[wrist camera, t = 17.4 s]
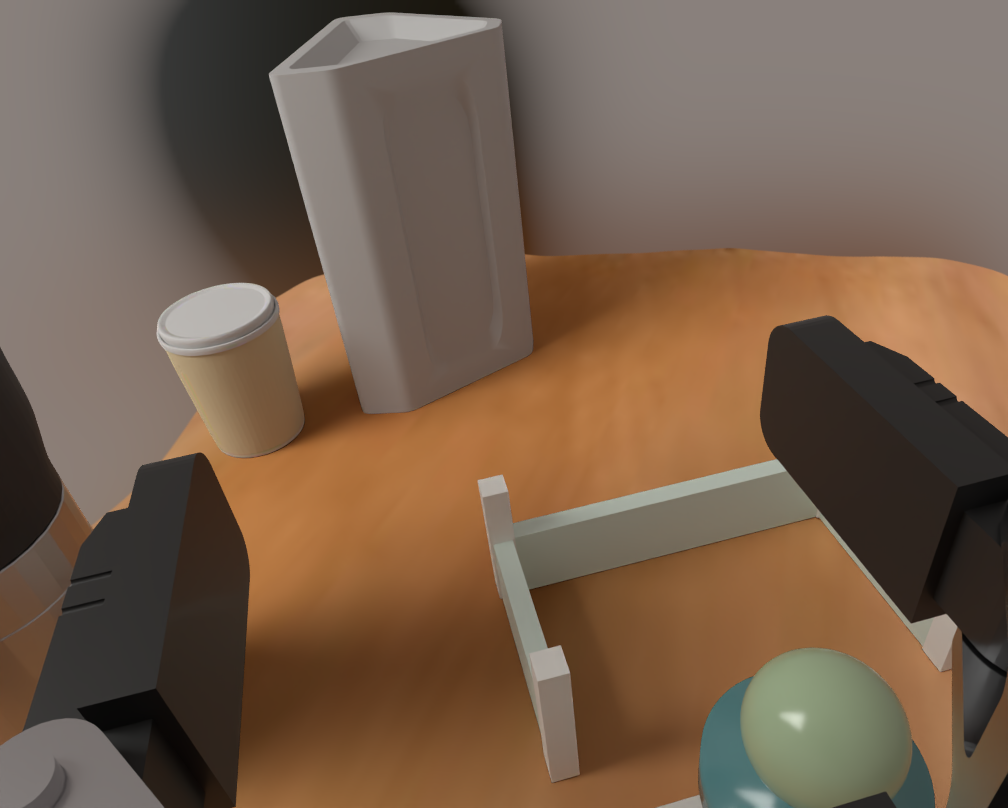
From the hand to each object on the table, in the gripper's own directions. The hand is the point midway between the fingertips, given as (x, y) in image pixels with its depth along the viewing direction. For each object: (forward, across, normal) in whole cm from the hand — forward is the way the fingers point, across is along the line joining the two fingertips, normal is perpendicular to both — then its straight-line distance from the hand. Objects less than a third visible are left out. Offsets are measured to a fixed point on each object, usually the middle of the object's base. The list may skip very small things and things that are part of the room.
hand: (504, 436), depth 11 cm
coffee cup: (+47, +15, +32) cm, 59 cm away
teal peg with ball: (+1, -8, +30) cm, 31 cm away
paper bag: (+53, -4, +32) cm, 62 cm away
